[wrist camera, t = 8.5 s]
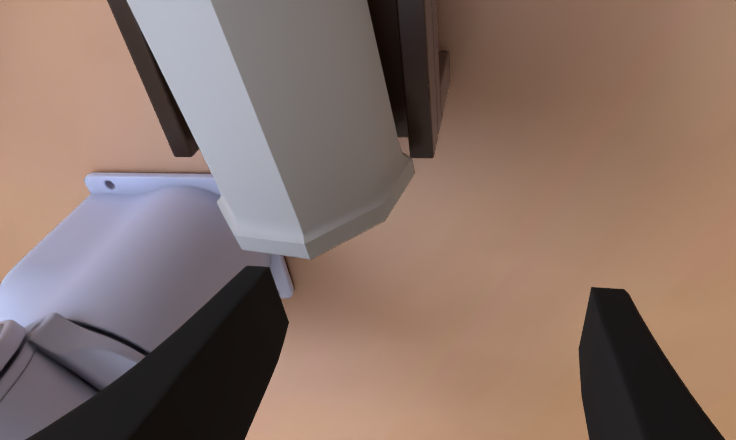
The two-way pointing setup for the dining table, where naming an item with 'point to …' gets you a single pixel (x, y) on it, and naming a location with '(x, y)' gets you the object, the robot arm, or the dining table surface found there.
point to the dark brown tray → (397, 55)
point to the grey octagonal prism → (284, 115)
